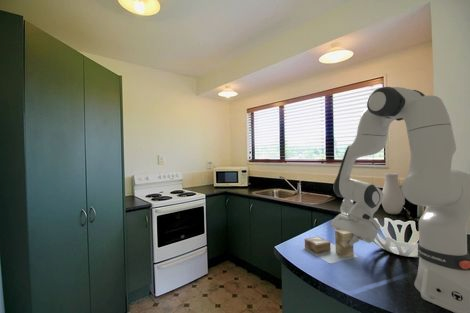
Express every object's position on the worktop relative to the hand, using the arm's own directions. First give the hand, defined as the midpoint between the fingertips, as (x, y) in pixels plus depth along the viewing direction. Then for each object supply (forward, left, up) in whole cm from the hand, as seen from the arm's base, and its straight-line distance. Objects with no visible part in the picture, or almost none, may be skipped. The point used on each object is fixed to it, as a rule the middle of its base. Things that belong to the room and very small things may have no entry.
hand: (343, 242), depth 95 cm
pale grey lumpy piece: (+46, -56, -7) cm, 73 cm away
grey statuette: (+25, -31, -7) cm, 40 cm away
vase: (+38, -89, -7) cm, 97 cm away
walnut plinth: (+9, +6, -6) cm, 13 cm away
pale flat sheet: (+5, +3, -6) cm, 9 cm away
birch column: (0, -1, -5) cm, 5 cm away
